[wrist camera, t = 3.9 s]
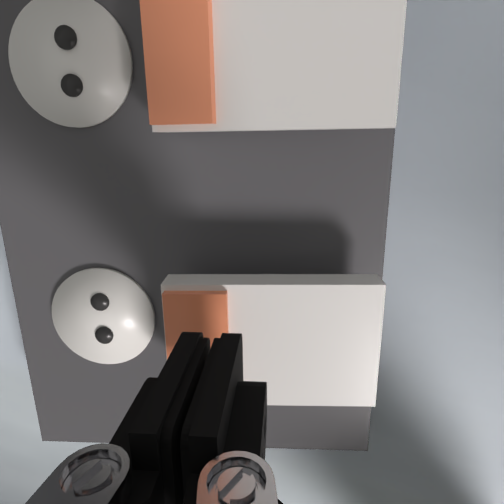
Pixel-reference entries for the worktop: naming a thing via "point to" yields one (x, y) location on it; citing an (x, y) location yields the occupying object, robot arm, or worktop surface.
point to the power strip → (155, 216)
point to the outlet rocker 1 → (272, 64)
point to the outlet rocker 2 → (288, 330)
